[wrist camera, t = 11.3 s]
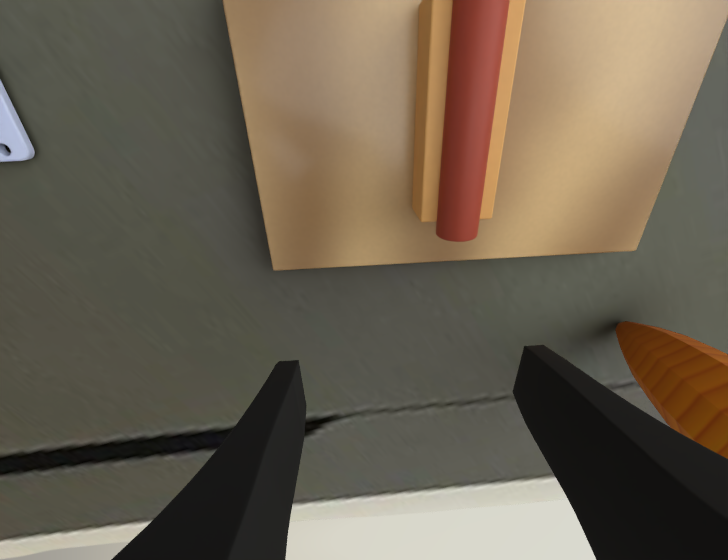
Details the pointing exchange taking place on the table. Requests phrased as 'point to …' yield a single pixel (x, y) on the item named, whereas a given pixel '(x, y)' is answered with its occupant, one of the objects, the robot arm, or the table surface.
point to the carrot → (680, 381)
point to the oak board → (522, 136)
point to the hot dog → (462, 109)
